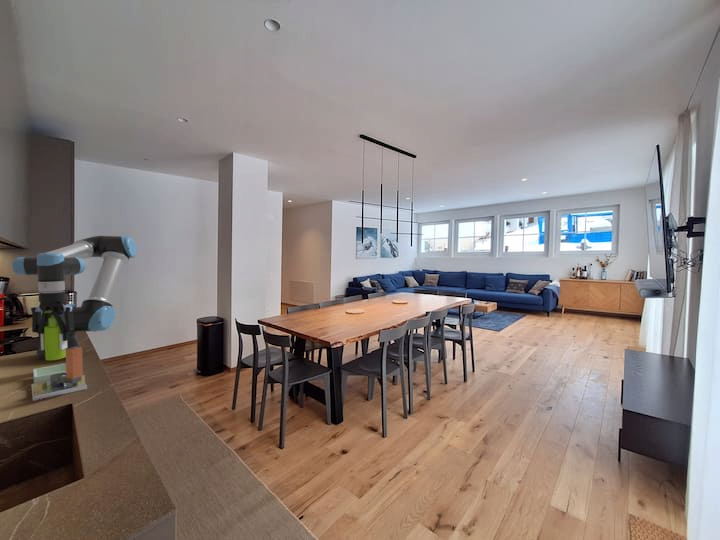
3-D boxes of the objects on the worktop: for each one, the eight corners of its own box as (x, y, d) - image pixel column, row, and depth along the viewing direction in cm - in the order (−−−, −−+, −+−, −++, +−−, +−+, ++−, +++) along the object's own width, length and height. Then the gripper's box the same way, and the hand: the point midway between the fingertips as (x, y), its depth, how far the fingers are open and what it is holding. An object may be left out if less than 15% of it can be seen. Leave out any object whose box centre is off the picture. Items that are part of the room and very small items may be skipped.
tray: (33, 378, 116) (33, 369, 116) (75, 370, 125) (74, 361, 125) (34, 387, 108) (34, 377, 108) (78, 377, 117) (78, 368, 117)
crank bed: (31, 388, 107) (31, 377, 107) (81, 377, 117) (81, 367, 117) (32, 401, 98) (32, 388, 98) (87, 388, 108) (86, 377, 107)
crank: (46, 385, 106) (45, 347, 105) (61, 380, 110) (60, 344, 110) (71, 388, 104) (70, 350, 103) (85, 383, 108) (84, 346, 107)
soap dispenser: (39, 362, 120) (37, 311, 119) (52, 356, 127) (50, 308, 126) (58, 360, 122) (56, 310, 120) (69, 355, 128) (67, 307, 127)
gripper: (15, 293, 118) (18, 352, 119) (71, 293, 120) (73, 351, 122) (33, 290, 125) (36, 346, 126) (85, 290, 128) (87, 345, 129)
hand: (54, 348), depth 124 cm, fingers closed on soap dispenser, 6 cm apart
